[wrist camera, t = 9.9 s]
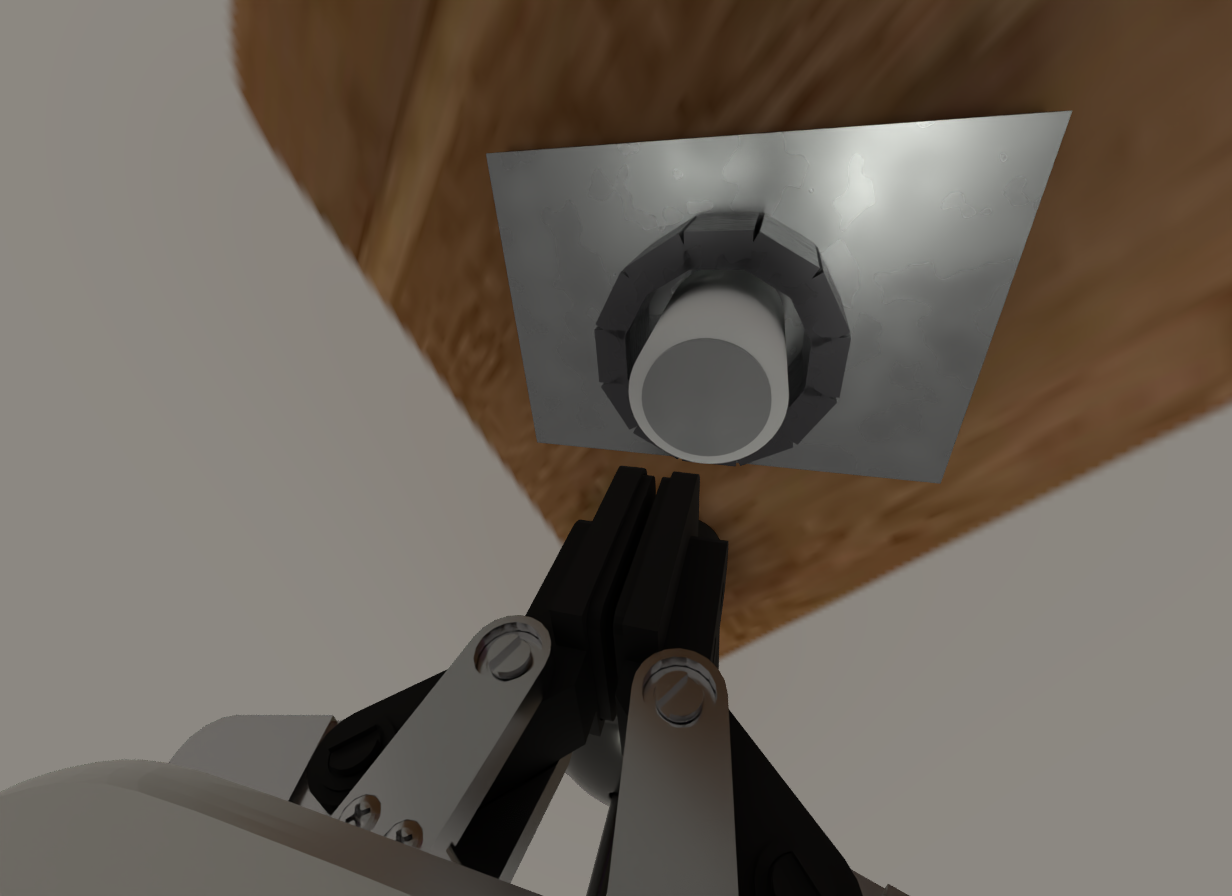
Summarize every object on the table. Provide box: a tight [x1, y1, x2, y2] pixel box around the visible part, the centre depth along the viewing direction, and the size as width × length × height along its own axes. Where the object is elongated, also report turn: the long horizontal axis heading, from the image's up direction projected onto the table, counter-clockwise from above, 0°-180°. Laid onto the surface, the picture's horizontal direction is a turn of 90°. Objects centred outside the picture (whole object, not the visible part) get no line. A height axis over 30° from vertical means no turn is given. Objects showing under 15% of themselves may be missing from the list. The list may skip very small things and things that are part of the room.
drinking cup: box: [565, 520, 720, 896], centre depth 24 cm, size 8×8×20 cm
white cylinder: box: [629, 270, 789, 464], centre depth 18 cm, size 5×5×7 cm
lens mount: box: [486, 111, 1072, 483], centre depth 21 cm, size 14×20×6 cm
